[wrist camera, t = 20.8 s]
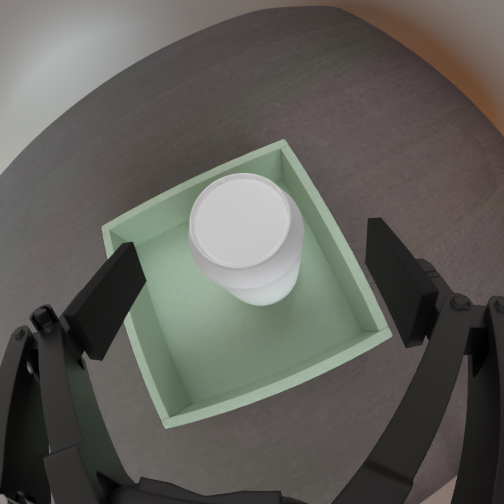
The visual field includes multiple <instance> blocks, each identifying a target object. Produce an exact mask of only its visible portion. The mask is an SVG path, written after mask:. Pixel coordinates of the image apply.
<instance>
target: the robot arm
mask: <svg viewBox="0 0 504 504" xmlns="http://www.w3.org/2000/svg"><path fill="white" fill-rule="evenodd" d="M365 264H366V266H367V268H368V269H369V271H370V273H371V275H372V277H373V279H374V281H375V283H376V285H377V287H378V289H379V291H380V293H381V295H382V297H383V299H384V301H385V303H386V305H387V307H388V310H389V312H390V314H391V316H392V318H393V320H394V322H395V325H396V327H397V329H398V331H399V334H400V336H401V338H402V340H403V343H404V345H405V347H406V348H410V347H414V346H419V345H422V343H423V340H424V338H425V335H426V336H427V338H428V340H429V343H428V345H427V347H426V350H425V352H424V355H423V357H422V359H421V362H420V364H419V366H418V368H417V371H416V373H415V375H414V377H413V379H412V381H411V383H410V385H409V387H408V389H407V391H406V393H405V395H404V397H403V399H402V401H401V403H400V405H399V406H398V408H397V410H396V412H395V414H394V415H393V417H392V419H391V421H390V422H389V424H388V426H387V427H386V429H385V431H384V432H383V434H382V436H381V437H380V439H379V440H378V442H377V444H376V445H375V447H374V448H373V450H372V451H371V453H370V454H369V456H368V457H367V458H366V460H365V461H364V463H363V464H362V465H361V467H360V468H359V469H358V471H357V472H356V473H355V475H354V476H353V477H352V479H351V480H350V481H349V483H348V484H347V485H346V486H345V488H344V489H343V490H342V491H341V493H340V494H339V495H338V496H337V497H336V499H335V500H334V501H333V502H332V503H331V504H403V503H404V501H405V500H406V498H407V496H408V495H409V493H410V491H411V489H412V486H413V479H414V477H415V475H416V473H417V471H418V469H419V467H420V465H421V463H422V462H423V460H424V458H425V456H426V454H427V452H428V450H429V448H430V446H431V443H432V441H433V439H434V437H435V435H436V432H437V430H438V428H439V425H440V423H441V421H442V418H443V416H444V413H445V411H446V408H447V405H448V403H449V400H450V397H451V394H452V391H453V388H454V385H455V382H456V379H457V376H458V373H459V369H460V366H461V362H462V358H463V355H468V397H467V414H466V425H465V434H464V442H463V448H462V455H461V461H460V466H459V471H458V476H457V480H456V485H455V489H454V493H453V497H452V500H451V504H504V297H501V296H493V297H491V298H490V299H489V301H488V303H487V306H479V305H473V303H472V302H471V300H470V299H469V298H468V297H466V296H464V295H462V294H458V293H453V291H452V290H451V289H450V287H449V286H448V285H447V283H446V282H445V281H444V280H443V278H442V277H440V274H439V273H438V272H436V269H435V268H434V267H433V266H432V265H431V264H430V263H429V262H427V261H426V260H424V259H423V258H422V259H415V258H414V257H413V255H412V254H411V253H410V252H409V250H408V249H407V248H406V247H405V245H404V244H403V243H402V242H401V241H400V239H399V238H398V237H397V236H396V235H395V233H394V232H393V231H392V230H391V229H390V228H389V226H388V225H387V224H386V223H385V222H384V221H383V220H382V218H368V225H367V244H366V259H365ZM146 282H147V280H146V278H145V275H144V272H143V269H142V266H141V263H140V261H139V258H138V255H137V252H136V249H135V246H134V243H133V242H126V243H122V244H121V245H120V246H119V247H118V248H117V250H116V251H115V252H114V253H113V254H112V255H111V256H110V258H109V259H108V260H107V261H106V262H105V263H104V264H103V266H102V267H101V268H100V269H99V270H98V271H97V273H96V274H95V275H94V276H93V277H92V279H91V280H90V281H89V282H88V283H87V285H86V286H85V287H84V288H83V289H82V290H81V291H80V292H79V293H78V294H77V295H76V297H75V298H74V299H73V300H72V302H71V303H70V304H69V305H68V307H67V308H66V309H65V311H64V312H63V313H62V315H61V316H60V317H59V319H58V317H57V316H56V314H55V312H54V310H53V309H52V307H51V305H49V304H47V305H43V306H40V307H39V308H37V309H36V310H35V311H34V312H33V313H32V314H31V316H30V320H31V322H32V323H33V325H34V327H35V328H36V330H37V331H38V332H35V333H32V332H31V331H30V329H29V328H28V326H21V327H18V328H17V329H16V330H15V331H14V332H13V333H12V335H11V337H10V340H9V343H8V346H7V348H6V351H5V354H4V357H3V361H2V364H1V367H0V504H51V492H52V495H53V498H54V501H55V504H307V503H305V502H303V501H300V500H297V499H294V498H290V497H285V496H282V495H281V491H239V492H232V493H226V494H219V495H211V496H203V495H200V494H197V493H194V492H192V491H189V490H186V489H184V488H181V487H179V486H177V485H174V484H172V483H168V482H163V481H158V480H153V479H149V478H144V477H140V481H139V483H134V481H133V480H132V479H131V478H130V477H129V476H128V475H127V473H126V472H125V470H124V468H123V466H122V464H121V462H120V459H119V457H118V455H117V453H116V450H115V448H114V446H113V443H112V441H111V439H110V436H109V434H108V431H107V429H106V426H105V423H104V421H103V418H102V415H101V412H100V410H99V407H98V404H97V401H96V398H95V394H94V391H93V388H92V385H91V381H90V378H89V374H88V371H87V367H86V363H85V360H84V359H83V357H82V354H83V352H84V350H85V352H86V353H87V355H88V356H89V358H90V359H93V360H100V361H102V360H103V358H104V356H105V354H106V353H107V351H108V349H109V347H110V345H111V343H112V341H113V339H114V338H115V336H116V334H117V332H118V330H119V328H120V327H121V325H122V323H123V321H124V319H125V318H126V316H127V314H128V312H129V311H130V309H131V307H132V305H133V304H134V302H135V300H136V298H137V297H138V295H139V293H140V292H141V290H142V288H143V287H144V285H145V283H146ZM27 365H28V366H29V367H30V368H31V374H30V373H29V371H28V369H27ZM49 445H50V449H51V454H49Z"/></svg>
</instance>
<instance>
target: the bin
mask: <svg viewBox="0 0 504 504" xmlns="http://www.w3.org/2000/svg"><path fill="white" fill-rule="evenodd" d="M237 173H251V174H256V175H260V176H263V177H265V178H267V179H269V180H271V181H272V182H273V183H275V184H276V185H277V186H278V187H279V188H281V189H282V190H283V191H285V192H286V193H287V194H288V195H289V196H290V197H291V198H292V199H293V200H294V202H295V203H296V205H297V207H298V208H299V211H300V213H301V216H302V220H303V225H304V238H303V246H302V253H301V260H300V267H299V273H298V278H297V281H296V283H295V286H294V287H293V289H292V290H291V292H290V293H289V294H288V295H287V296H286V297H285V298H283V299H282V300H280V301H279V302H277V303H274V304H271V305H266V306H256V305H251V304H248V303H246V302H243V301H242V300H240V299H238V298H237V297H235V296H234V295H232V294H231V293H229V292H228V291H227V290H225V289H224V288H222V287H221V286H219V285H218V284H217V283H215V282H214V281H212V280H211V279H210V278H208V277H207V276H206V275H205V274H204V273H203V272H202V271H201V270H200V269H199V267H198V266H197V265H196V263H195V261H194V259H193V257H192V254H191V251H190V247H189V221H190V214H191V210H192V208H193V205H194V203H195V201H196V199H197V198H198V196H199V195H200V194H201V192H202V191H203V190H204V189H205V188H206V187H208V186H209V185H210V184H211V183H213V182H214V181H216V180H218V179H220V178H222V177H225V176H228V175H231V174H237ZM102 233H103V239H104V244H105V249H106V254H107V258H108V259H109V258H110V256H111V255H112V254H113V253H114V252H115V251H116V250H117V248H118V247H119V246H120V245H121V244H122V243H126V242H133V243H134V246H135V249H136V252H137V255H138V258H139V261H140V263H141V266H142V269H143V272H144V275H145V278H146V280H147V282H146V283H145V285H144V287H143V288H142V290H141V292H140V293H139V295H138V297H137V298H136V300H135V302H134V304H133V305H132V307H131V309H130V311H129V312H128V314H127V316H126V318H125V319H124V323H125V327H126V330H127V333H128V336H129V339H130V342H131V345H132V348H133V351H134V354H135V357H136V360H137V362H138V365H139V368H140V371H141V373H142V376H143V378H144V381H145V383H146V386H147V388H148V391H149V393H150V396H151V398H152V401H153V403H154V405H155V407H156V410H157V412H158V414H159V416H160V419H162V420H161V421H162V423H163V425H164V427H165V429H167V428H172V427H176V426H180V425H183V424H187V423H191V422H195V421H198V420H202V419H205V418H208V417H212V416H215V415H218V414H221V413H225V412H228V411H231V410H234V409H237V408H240V407H242V406H245V405H248V404H251V403H254V402H256V401H259V400H262V399H264V398H267V397H269V396H272V395H275V394H277V393H280V392H282V391H284V390H287V389H289V388H292V387H294V386H296V385H299V384H301V383H303V382H305V381H308V380H310V379H312V378H314V377H316V376H319V375H321V374H323V373H325V372H327V371H329V370H331V369H333V368H335V367H337V366H339V365H341V364H343V363H345V362H347V361H349V360H351V359H353V358H355V357H357V356H358V355H360V354H362V353H364V352H366V351H368V350H369V349H371V348H373V347H375V346H377V345H378V344H380V343H382V342H383V341H385V340H387V339H389V338H390V337H392V333H391V331H390V329H389V327H388V324H387V322H386V320H385V318H384V316H383V313H382V311H381V309H380V307H379V305H378V303H377V301H376V298H375V296H374V294H373V292H372V290H371V288H370V286H369V284H368V282H367V280H366V278H365V276H364V274H363V272H362V270H361V268H360V266H359V264H358V262H357V260H356V258H355V256H354V255H353V253H352V251H351V249H350V247H349V245H348V243H347V241H346V240H345V238H344V236H343V234H342V232H341V231H340V229H339V227H338V225H337V223H336V222H335V220H334V218H333V216H332V215H331V213H330V211H329V209H328V208H327V206H326V204H325V203H324V201H323V199H322V197H321V196H320V194H319V192H318V191H317V189H316V187H315V186H314V184H313V183H312V181H311V179H310V178H309V176H308V174H307V173H306V171H305V170H304V168H303V166H302V165H301V163H300V162H299V160H298V159H297V157H296V156H295V154H294V152H293V151H292V149H291V148H290V146H288V143H287V142H286V140H285V139H283V140H280V141H278V142H275V143H272V144H270V145H267V146H265V147H262V148H260V149H257V150H255V151H252V152H250V153H248V154H245V155H243V156H241V157H238V158H236V159H234V160H231V161H229V162H227V163H224V164H222V165H220V166H218V167H215V168H213V169H211V170H209V171H207V172H205V173H202V174H200V175H198V176H196V177H194V178H192V179H190V180H188V181H186V182H184V183H181V184H179V185H177V186H175V187H173V188H171V189H169V190H167V191H165V192H164V193H162V194H160V195H158V196H156V197H154V198H152V199H150V200H148V201H146V202H144V203H142V204H141V205H139V206H137V207H135V208H133V209H131V210H130V211H128V212H126V213H124V214H122V215H121V216H119V217H117V218H115V219H114V220H112V221H110V222H108V223H107V224H105V225H103V226H102Z"/></svg>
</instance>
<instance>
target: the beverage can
mask: <svg viewBox="0 0 504 504" xmlns="http://www.w3.org/2000/svg"><path fill="white" fill-rule="evenodd" d="M303 238H304V225H303V220H302V216H301V213H300V211H299V208H298V207H297V205H296V203H295V202H294V200H293V199H292V198H291V197H290V196H289V195H288V194H287V193H286V192H285V191H283V190H282V189H281V188H279V187H278V186H277V185H276V184H275V183H273V182H272V181H271V180H269V179H267V178H265V177H263V176H260V175H256V174H251V173H237V174H231V175H228V176H225V177H222V178H220V179H218V180H216V181H214V182H213V183H211V184H210V185H209V186H208V187H206V188H205V189H204V190H203V191H202V192H201V194H200V195H199V196H198V198H197V199H196V201H195V203H194V205H193V208H192V210H191V214H190V221H189V247H190V251H191V254H192V257H193V259H194V261H195V263H196V265H197V266H198V267H199V269H200V270H201V271H202V272H203V273H204V274H205V275H206V276H207V277H208V278H210V279H211V280H212V281H214V282H215V283H217V284H218V285H219V286H221V287H222V288H224V289H225V290H227V291H228V292H229V293H231V294H232V295H234V296H235V297H237V298H238V299H240V300H242V301H243V302H246V303H248V304H251V305H256V306H266V305H271V304H274V303H277V302H279V301H280V300H282V299H283V298H285V297H286V296H287V295H288V294H289V293H290V292H291V290H292V289H293V287H294V286H295V283H296V281H297V278H298V273H299V267H300V260H301V253H302V246H303Z"/></svg>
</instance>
